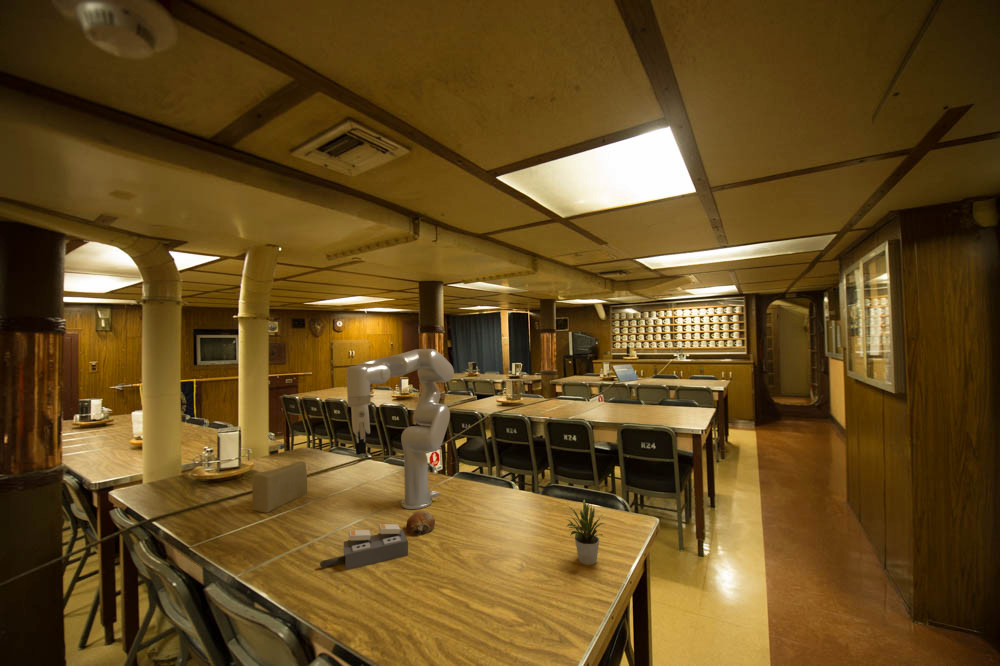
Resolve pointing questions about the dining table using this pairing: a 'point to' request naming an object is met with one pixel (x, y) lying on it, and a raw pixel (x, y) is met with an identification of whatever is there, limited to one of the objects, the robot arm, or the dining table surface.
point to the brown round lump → (420, 523)
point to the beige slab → (278, 486)
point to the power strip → (371, 550)
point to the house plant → (586, 535)
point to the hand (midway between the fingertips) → (361, 453)
